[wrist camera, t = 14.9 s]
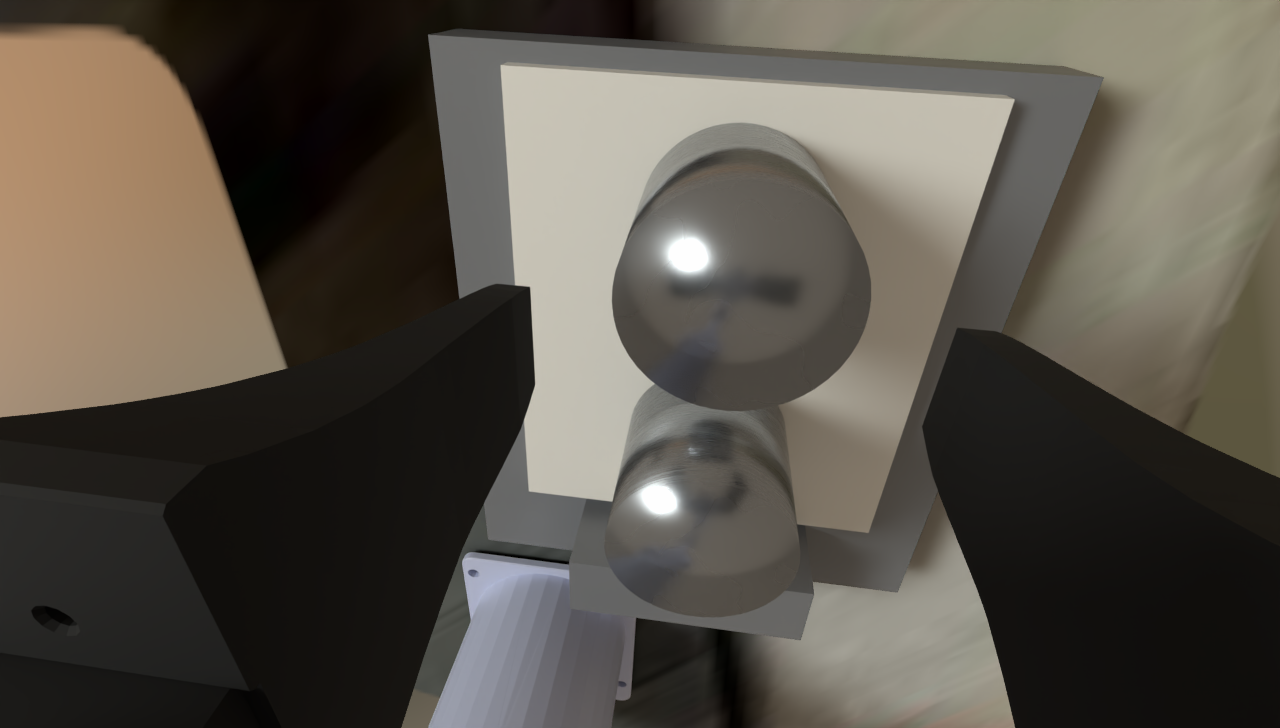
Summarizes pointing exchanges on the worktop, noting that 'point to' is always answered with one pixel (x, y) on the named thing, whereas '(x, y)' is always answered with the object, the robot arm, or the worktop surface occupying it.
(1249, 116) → the worktop surface
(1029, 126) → the kitchen scale
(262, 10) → the worktop surface
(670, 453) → the cylinder
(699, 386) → the cylinder
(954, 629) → the worktop surface
